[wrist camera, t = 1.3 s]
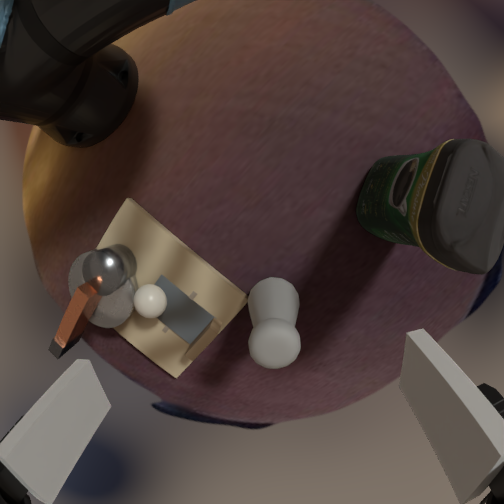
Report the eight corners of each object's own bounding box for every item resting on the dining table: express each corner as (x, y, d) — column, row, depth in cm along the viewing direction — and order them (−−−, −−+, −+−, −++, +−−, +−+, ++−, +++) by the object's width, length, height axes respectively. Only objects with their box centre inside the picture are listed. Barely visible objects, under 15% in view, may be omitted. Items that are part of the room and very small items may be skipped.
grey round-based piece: (58, 308, 35) (28, 328, 28) (101, 222, 32) (65, 231, 25) (105, 354, 36) (81, 381, 29) (159, 275, 33) (133, 296, 26)
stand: (78, 288, 36) (62, 298, 32) (130, 198, 33) (114, 199, 29) (178, 373, 37) (170, 391, 33) (249, 297, 34) (247, 310, 30)
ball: (136, 296, 34) (122, 307, 30) (152, 273, 33) (138, 283, 29) (160, 316, 34) (149, 330, 30) (177, 294, 33) (166, 307, 29)
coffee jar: (398, 248, 32) (497, 298, 14) (345, 221, 32) (427, 255, 14) (426, 178, 30) (535, 177, 12) (375, 147, 30) (472, 113, 12)
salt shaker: (288, 265, 33) (300, 309, 21) (303, 308, 34) (320, 367, 22) (241, 281, 34) (226, 332, 21) (258, 323, 35) (253, 387, 22)
